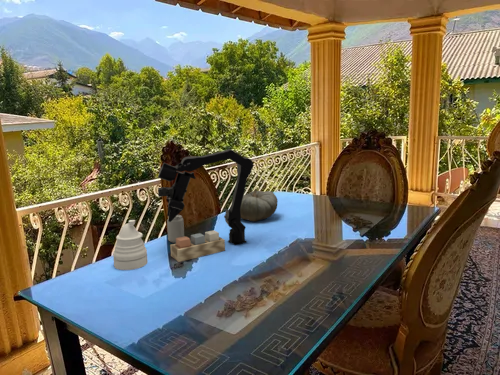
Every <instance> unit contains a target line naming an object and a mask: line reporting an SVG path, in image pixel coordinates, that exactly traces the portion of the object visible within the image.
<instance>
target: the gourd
mask: <svg viewBox="0 0 500 375" xmlns="http://www.w3.org/2000/svg"><path fill="white" fill-rule="evenodd" d="M278 201H279V200H278V198H277V196H276V194H275V193H274V192H273V191H270V190H267V191H264V190H263V191H260V190H258V188H254V190H252V191H251V192H249V193H246V194H243V199H242V203H241V208H240V212H241V219H242V220H247V221H248V222H249V221H250V222H259V221H261V220H266V219H267V218H270V217H271V216H272V215H273V214H274V213H275V212H276V211H277V208H278Z"/></svg>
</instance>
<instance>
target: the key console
mask: <svg viewBox="0 0 500 375" xmlns="http://www.w3.org/2000/svg"><path fill="white" fill-rule="evenodd" d="M225 240H226V239H224V238H223V237H220V236H219V240H216V241H212V242H208V241H207V240H205V243H203V244H199V245H194V244H192V243H191V239H190V247H185V248H181V249H179V248H178V247H176V243H172V244H170V245H169V246H170V257H172V258H173V259H174V260H176V262H178V263H181V262H184V261H188V260H192V259H193V260H194V259H196V258H201V257H204V256H205V257H206V256H209V255H213V254H217V253H221V252H224V251H226V241H225Z"/></svg>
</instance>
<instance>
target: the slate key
mask: <svg viewBox="0 0 500 375" xmlns="http://www.w3.org/2000/svg"><path fill="white" fill-rule="evenodd" d="M190 240H191V243H192V244H194V245H199V244H203V243H205V234H202V232H198V233H195V234H190Z"/></svg>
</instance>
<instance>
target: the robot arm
mask: <svg viewBox="0 0 500 375" xmlns="http://www.w3.org/2000/svg"><path fill="white" fill-rule="evenodd" d="M226 160H231V161H232V162H234V163H235V164H236V173H237V177H236V182H235V187H234V192H233V196H232V200H231V203H230V204H231V205H230V207H229V208H225V214H224V216H223V218H224V220H225V224H227V226H228V227H229V232H228V240H227V242H228V243H230V244H232V245H234V246H239V245H242V244H246V243H248V242H247V240H246V236H245V235H246V234H245V233H246V232H245V230H246V226H245V225H244V224H243V223H242V221H241V219H242V218H241V212H240V208H241V203H242V199H243V195H245V194H244V193H245V191H246V190H245V188H246V184H247V180H248V178H249V176H250V175H251V173H252V170H253V168H254V162H253V160H252V159H251V158H248V157H246V156H242V155H240V154H238V153H237V152H235V151H234V150H233V149H230V148H229V149H226V150H221V151H218V152H213V153H210V154H205V155H200V156H198V155H197V156H196V155H195V156H193V155H192V156H185V157H183V158H182V160H181V162H180V163H178V164H176V165H175V166H173V165H170V164H168V163H166V162H163V163H162V165H161V168H160V170H159V172H158V175H157V178H158V179H161V180H164V181H167V182H172V181H174V183H173V184H172V185H171V187H157V195H158V197H160V198H163V197H166V201H167V203H168V204H167V215H166V216H167V217H169V219H167V220H168V221H169V222H171V221H172V220H173V219H174V218H175V217H176V216H177V215H180V213H181V212H182V211H183V210H184V208H185V203H184V200H185V199H184V198H185V195H186V193H187V192H188V190H187V189H188V186H189V183H190V181H191V179H194V180H195V179H196V176H195V174H194V173H195V172H193V171H195V170H198V169H200V168H201V167H203V166H206V165H210V164H213V163H218V162H222V161H226Z"/></svg>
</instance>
